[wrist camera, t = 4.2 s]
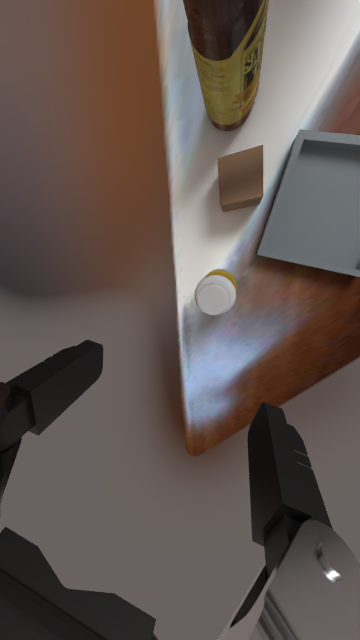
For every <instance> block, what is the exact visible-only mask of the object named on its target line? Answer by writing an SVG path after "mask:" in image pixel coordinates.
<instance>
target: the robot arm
mask: <svg viewBox="0 0 360 640" xmlns="http://www.w3.org/2000/svg"><path fill="white" fill-rule="evenodd" d="M102 368H103V346H102V345H101V344H98V343H96V342H93V341H90V340H86V341H84V342H82V343H81V344H79V345H77V346H73V347H70V348H66V349H63V350H61V351H59V352H58V353H56V354H54V355H53V356H52V357H49V358H47V359H46V360H44V362H41V363H39V364H37V365H36V366H34V367H32V368H31V369H29V370H27V371H25V372H24V373H22V374H20V375H19V376H17V377H15V378H13V379H12V380H10V381H8V382H7V383H4V382H0V516H1V502H2V497H3V494H4V491H5V488H6V485H7V482H8V479H9V476H10V473H11V470H12V468H13V465H14V462H15V459H16V456H17V453H18V450H19V447H20V444H21V441H22V436H23V435H24V434H25V433H26V432H27V431H30V432H32V433H34V434H36V435H40V434H41V433H42V432H43V431H44V430H45V429H46V428H47V427H48V426H49V425H50V424H51V423H52V422H53V421H54V420H55V419H56V418H57V417H59V416H60V415H61V414H62V413H63V412H64V411H65V410H66V409H67V408H68V407H69V406H70V405H71V404H72V403H73V402H74V401H75V400H77V399H78V398H79V396H81V395H82V394H83V393H84V392H85V391H86V390H87V389H88V388H89V387H90V386H91V385H92V384H93V383H94V382H96V381H97V379H98V378H99V377H100V375H101V373H102ZM248 459H249V480H250V500H251V522H252V541H254V542H256V543H258V544H260V545H262V546H264V548H265V560H266V561H265V563H264V564H263V565H262V567H261V569H260V571H259V572H258V574H257V575H256V577H255V579H254V581H253V582H252V584H251V586H250V587H249V589H248V591H247V592H246V594H245V596H244V597H243V599H242V601H241V602H240V604H239V606H238V607H237V609H236V611H235V612H234V614H233V616H232V618H231V619H230V621H229V622H228V624H227V626H226V627H225V629H224V630H223V632H222V633H221V635H220V636H219V637H218V638H217V640H360V564H359V563H358V561H357V559H356V557H355V555H354V554H353V552H352V551H351V549H350V548H349V547H348V545H347V544H346V543H345V542H344V540H343V539H342V538H341V537H340V536H339V535H338V534H337V533H336V532H335V531H334V530H333V528H332V526H331V523H330V520H329V517H328V514H327V511H326V508H325V505H324V502H323V499H322V496H321V493H320V490H319V488H318V484H317V481H316V478H315V476H314V472H313V470H312V469H311V463H310V460H309V458H308V457H307V451H306V448H305V445H304V442H303V440H302V438H301V437H300V435H299V434H298V432H297V431H296V429H295V428H294V427H293V426H291V425H289V424H287V422H286V419H285V415H284V412H283V410H282V409H281V408H279V407H276V406H273V405H270V404H267V403H265V402H263V403H262V404H261V405H260V407H259V409H258V411H257V413H256V415H255V417H254V419H253V421H252V423H251V425H250V428H249V432H248ZM155 621H156V619H154V618H153V617H152V616H150V615H148V614H147V613H145V612H143V611H142V610H140V609H139V608H137V607H135V606H134V605H132V604H130V603H129V602H127V601H126V600H124V599H122V598H121V597H119V596H117V595H116V594H113V593H104V592H94V591H84V590H74V589H67V588H65V587H64V586H63V585H62V584H61V583H60V581H59V579H58V578H57V576H56V574H55V573H54V571H53V570H52V568H51V566H50V565H49V563H48V562H47V560H46V559H45V557H44V555H43V554H42V553H41V551H40V549H39V548H38V546H36V545H34V544H33V543H31V542H30V541H28V540H26V539H25V538H23V537H21V536H20V535H18V534H17V533H15V532H13V531H12V530H10V529H8V528H7V527H5V528H4V529H3V530H2V531H1V533H0V640H158V639H157V637H156V636H155V635H154V633H153V630H154V626H155Z"/></svg>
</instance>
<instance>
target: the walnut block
mask: <svg viewBox="0 0 360 640" xmlns="http://www.w3.org/2000/svg"><path fill="white" fill-rule="evenodd" d="M218 173H219V188H220V203H221V208H222V210H223V212H225V211H230V210H235V209H239V208H244V207H249V206H254V205H258V204H260V202H261V199H262V197H263V145H261V146H257V147H254V148H251V149H247V150H244V151H241V152H237V153H234V154H230V155H227V156H224V157H220V158H218Z"/></svg>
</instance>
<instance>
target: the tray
mask: <svg viewBox="0 0 360 640" xmlns="http://www.w3.org/2000/svg"><path fill="white" fill-rule="evenodd" d="M256 255H261V256H265V257H270V258H274V259H279V260H284V261H288V262H293V263H297V264H302V265H307V266H311V267H316V268H320V269H325V270H330V271H334V272H339V273H343V274H348V275H353V276H357V277H360V135H352V134H341V133H331V132H320V131H310V130H299V132H298V134H297V136H296V138H295V141H294V144H293V146H292V149H291V152H290V155H289V158H288V161H287V164H286V167H285V170H284V173H283V176H282V179H281V182H280V185H279V188H278V191H277V194H276V196H275V199H274V202H273V205H272V208H271V211H270V214H269V217H268V220H267V223H266V226H265V229H264V232H263V235H262V238H261V241H260V243H259V246H258V249H257V252H256Z"/></svg>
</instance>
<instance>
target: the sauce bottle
mask: <svg viewBox="0 0 360 640" xmlns="http://www.w3.org/2000/svg"><path fill="white" fill-rule="evenodd" d="M268 1H269V0H183V2H184V6H185V11H186V16H187V19H188V31H189V36H190V41H191V45H192V50H193V54H194V58H195V63H196V67H197V72H198V77H199V81H200V86H201V90H202V95H203V99H204V103H205V108H206V111H207V113H208V115H209V118H210V120H211V121H212V123H213V125H214V126H215V127H216V128H218V129H220V130H225V131H226V130H232V129H235V128H237V127H238V126H240V125H241V124H242V123H243V122H244V121H245V120H246V118H247V117H248V115H249V114H250V111H251V109H252V107H253V105H254V101H255V98H256V95H257V91H258V85H259V76H260V68H261V60H262V53H263V43H264V35H265V27H266V19H267V10H268Z"/></svg>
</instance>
